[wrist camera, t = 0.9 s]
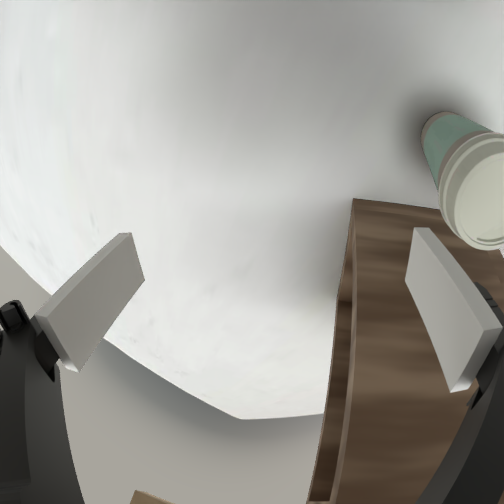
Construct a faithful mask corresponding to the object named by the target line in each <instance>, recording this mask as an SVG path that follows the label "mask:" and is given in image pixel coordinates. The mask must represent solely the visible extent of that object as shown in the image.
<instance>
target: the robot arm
mask: <svg viewBox="0 0 504 504" xmlns="http://www.w3.org/2000/svg"><path fill="white" fill-rule="evenodd" d="M144 281H145V279H144V275H143V272H142V269H141V265H140V262H139V258H138V255H137V251H136V248H135V244H134V240H133V237H132V233H119V234H118V235H117V236H115V237H114V238H113V239H112V240H111V241H110V242H109V243H107V244H106V245H105V246H104V247H103V248H102V249H101V250H100V251H98V252H97V253H96V254H95V255H94V256H93V257H92V258H91V259H90V260H89V261H88V262H86V263H85V264H84V265H83V266H82V267H81V268H80V269H79V270H78V271H77V272H76V273H75V274H74V275H73V276H72V277H71V278H70V279H69V280H68V281H67V282H65V283H64V284H63V285H62V286H61V287H60V288H59V289H58V290H57V291H56V292H55V293H54V294H53V295H52V297H51V298H50V299H49V300H48V301H47V302H46V303H45V304H44V305H43V306H42V307H41V308H40V309H39V310H38V311H37V312H36V313H35V314H34V316H33V317H32V318H31V319H29V317H28V316H27V314H26V312H25V310H24V308H23V306H22V304H21V302H20V301H19V300H13V301H10V302H8V303H6V304H5V305H3V306H2V307H1V308H0V324H1V326H2V327H3V329H4V330H3V331H1V329H0V504H85V503H84V500H83V497H82V493H81V490H80V486H79V483H78V480H77V475H76V472H75V468H74V464H73V460H72V455H71V450H70V445H69V440H68V435H67V430H66V423H65V416H64V409H63V401H62V393H61V383H60V370H59V367H58V366H57V364H56V362H57V361H58V359H59V358H60V359H61V361H62V363H63V364H64V366H65V367H66V368H67V369H70V370H73V371H76V372H80V370H81V369H82V367H83V366H84V364H85V363H86V361H87V360H88V358H89V357H90V355H91V354H92V353H93V351H94V349H95V348H96V347H97V345H98V344H99V342H100V341H101V339H102V338H103V337H104V335H105V334H106V332H107V331H108V329H109V328H110V327H111V325H112V324H113V322H114V321H115V320H116V318H117V317H118V316H119V314H120V313H121V311H122V310H123V309H124V307H125V306H126V305H127V303H128V302H129V301H130V299H131V298H132V296H133V295H134V294H135V292H136V291H137V290H138V288H139V287H140V286H141V285H142V283H143V282H144ZM405 282H406V284H407V286H408V288H409V291H410V293H411V295H412V297H413V299H414V301H415V304H416V306H417V308H418V310H419V313H420V315H421V317H422V319H423V322H424V324H425V326H426V329H427V331H428V334H429V336H430V339H431V341H432V344H433V346H434V349H435V351H436V354H437V357H438V359H439V362H440V365H441V367H442V370H443V373H444V376H445V379H446V382H447V385H448V388H449V391H450V393H452V392H457V391H461V390H466V389H469V387H470V385H471V384H472V382H473V381H474V379H475V378H476V379H477V382H478V384H479V387H478V388H477V390H476V391H475V393H474V394H473V395H472V397H471V398H470V400H469V401H468V403H467V404H466V406H469V408H468V410H467V412H466V415H465V417H464V419H463V421H462V423H461V426H460V428H459V430H458V432H457V434H456V436H455V438H454V440H453V442H452V444H451V446H450V448H449V449H448V451H447V453H446V455H445V457H444V459H443V460H442V462H441V464H440V466H439V467H438V469H437V471H436V472H435V474H434V476H433V477H432V479H431V480H430V482H429V483H428V485H427V487H426V488H425V490H424V491H423V493H422V494H421V495H420V497H419V498H418V500H417V501H416V503H415V504H498V502H499V500H500V498H501V496H502V493H503V491H504V313H503V312H502V310H501V309H500V307H498V304H497V303H496V302H495V300H493V297H492V296H491V295H490V293H489V292H488V290H487V289H486V288H484V287H483V286H482V285H480V284H479V283H478V282H472V281H471V279H470V278H469V277H468V275H467V274H466V273H465V271H464V270H463V269H462V267H461V266H460V265H459V264H458V262H457V261H456V260H455V258H454V257H453V256H452V255H451V253H450V252H449V251H448V250H447V249H446V247H445V246H444V245H443V244H442V243H441V241H440V240H439V239H438V238H437V237H436V235H435V234H434V233H433V232H432V231H431V230H430V229H429V228H422V227H414V230H413V237H412V244H411V250H410V256H409V261H408V267H407V272H406V277H405ZM469 404H470V405H469Z"/></svg>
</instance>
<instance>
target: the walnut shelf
mask: <svg viewBox="0 0 504 504" xmlns="http://www.w3.org/2000/svg"><path fill="white" fill-rule="evenodd" d="M414 227H422V228H429V229H430V230H431V231H432V232H433V233H434V234H435V235H436V237H437V238H438V239H439V240H440V241H441V243H442V244H443V245H444V246H445V247H446V249H447V250H448V251H449V252H450V253H451V255H452V256H453V257H454V258H455V260H456V261H457V262H458V264H459V265H460V266H461V267H462V269H463V270H464V271H465V273H466V274H467V275H468V277H469V278H470V279H471V281H472V282H478V283H479V284H480V285H482V286H483V287H484V288H486V289H487V290H488V292H489V293H490V295H491V296H492V297H493V300H495V302H496V303H497V304H498V307H500V309H501V310H502V312H503V313H504V258H503V256H502V254H501V252H500V250H499V249H496V250H480V249H476V248H474V247H472V246H470V245H469V244H467V243H466V242H465V241H464V240H462V239H461V238H459V237H458V236H457V235H456V234H455V233H454V232H453V231H452V230H451V229H450V227H449V226H448V225H447V224H446V222H445V220H444V218H443V216H442V214H441V211H440V210H437V209H431V208H424V207H417V206H410V205H403V204H395V203H388V202H380V201H371V200H362V199H353V204H352V211H351V219H350V226H349V232H348V239H347V245H346V251H345V257H344V263H343V269H342V274H341V279H340V285H339V290H338V295H337V302H336V315H335V327H334V338H333V348H332V358H331V366H330V375H329V383H328V390H327V397H326V404H325V411H324V418H323V423H322V429H321V436H320V441H319V446H318V452H317V456H316V461H315V466H314V471H313V476H312V480H311V485H310V489H309V493H308V498H307V502H306V504H415V503H416V501H417V500H418V498H419V497H420V495H421V494H422V493H423V491H424V490H425V488H426V487H427V485H428V483H429V482H430V480H431V479H432V477H433V476H434V474H435V472H436V471H437V469H438V467H439V466H440V464H441V462H442V460H443V459H444V457H445V455H446V453H447V451H448V449H449V448H450V446H451V444H452V442H453V440H454V438H455V436H456V434H457V432H458V430H459V428H460V426H461V423H462V421H463V419H464V417H465V415H466V412H467V410H468V408H469V406H466V404H467V403H468V401H469V400H470V398H471V397H472V395H473V394H474V393H475V391H476V390H477V388H478V387H479V384H478V382H477V379H476V378H475V379H474V381H473V382H472V384H471V385H470V387H469V389H466V390H461V391H457V392H452V393H450V391H449V388H448V385H447V382H446V379H445V376H444V373H443V370H442V367H441V365H440V362H439V359H438V357H437V354H436V351H435V349H434V346H433V344H432V341H431V339H430V336H429V334H428V331H427V329H426V326H425V324H424V322H423V319H422V317H421V315H420V313H419V310H418V308H417V306H416V304H415V301H414V299H413V297H412V295H411V293H410V291H409V288H408V286H407V284H406V282H405V277H406V272H407V267H408V261H409V256H410V250H411V244H412V237H413V230H414ZM469 405H470V404H469ZM498 504H504V491H503V493H502V496H501V498H500V500H499V502H498Z"/></svg>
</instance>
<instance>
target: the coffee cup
mask: <svg viewBox="0 0 504 504" xmlns="http://www.w3.org/2000/svg"><path fill="white" fill-rule="evenodd" d="M421 145H422V149H423V151H424V154H425V156H426V159H427V162H428V164H429V167H430V170H431V173H432V175H433V178H434V181H435V184H436V187H437V190H438V199H439V207H440V211H441V214H442V216H443V218H444V220H445V222H446V224H447V225H448V226H449V227H450V229H451V230H452V231H453V232H454V233H455V234H456V235H457V236H458V237H459V238H461V239H462V240H464V241H465V242H466V243H467V244H469V245H470V246H472V247H474V248H476V249H480V250H496V249H500V248H503V247H504V134H501V133H495V132H493V131H491V130H489V129H487V128H485V127H483V126H481V125H479V124H477V123H475V122H473V121H471V120H469V119H467V118H464V117H462V116H460V115H457V114H455V113H452V112H440V113H437V114H435V115H433V116H432V117H431V118H429V119H428V121H427V122H426V123H425V125H424V127H423V129H422V133H421Z"/></svg>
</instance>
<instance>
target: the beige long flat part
mask: <svg viewBox="0 0 504 504" xmlns="http://www.w3.org/2000/svg"><path fill="white" fill-rule="evenodd" d="M130 504H174V503H171V502H169V501H166V500H164V499H161V498H158V497H156V496H154V495H151V494H149V493H147V492H142V491H137V490H135V492H134V495H133V497H132V500H131V503H130Z"/></svg>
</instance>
